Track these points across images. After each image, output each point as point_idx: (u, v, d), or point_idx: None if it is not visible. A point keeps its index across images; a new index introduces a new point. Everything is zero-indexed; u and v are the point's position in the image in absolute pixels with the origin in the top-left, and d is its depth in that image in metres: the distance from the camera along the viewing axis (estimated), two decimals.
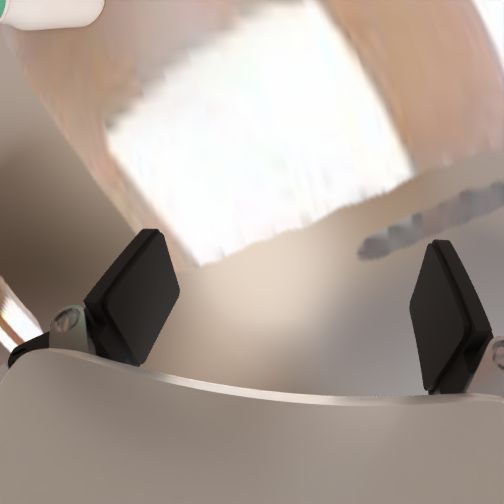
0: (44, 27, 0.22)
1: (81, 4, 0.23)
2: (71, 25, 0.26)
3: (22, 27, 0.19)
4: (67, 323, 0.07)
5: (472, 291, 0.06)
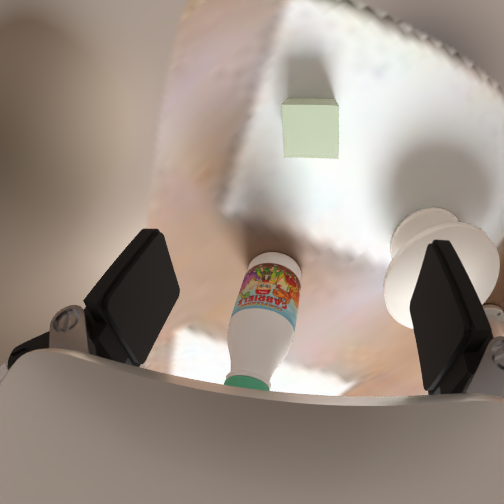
0: None
1: None
2: None
3: None
4: (67, 323, 0.07)
5: (472, 291, 0.06)
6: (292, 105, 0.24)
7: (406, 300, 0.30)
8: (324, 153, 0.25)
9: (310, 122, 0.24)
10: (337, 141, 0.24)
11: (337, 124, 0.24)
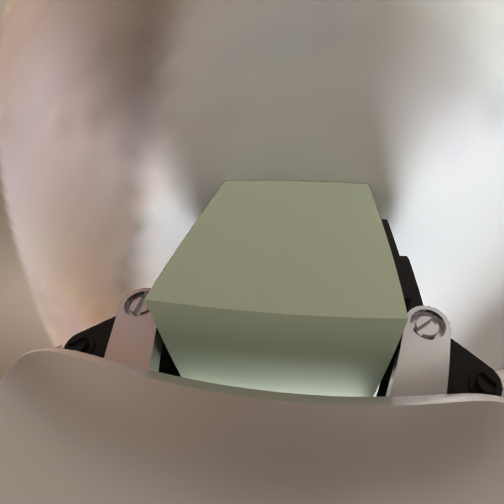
0: None
1: None
2: None
3: None
4: (140, 307, 0.07)
5: (398, 263, 0.07)
6: (189, 305, 0.06)
7: None
8: None
9: (272, 364, 0.06)
10: None
11: (380, 371, 0.06)
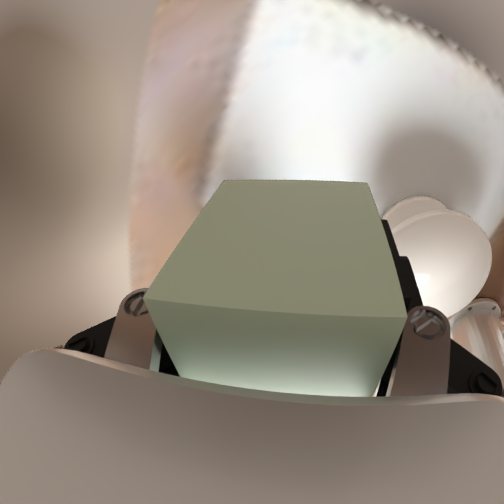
0: None
1: None
2: None
3: None
4: (140, 307, 0.07)
5: (398, 263, 0.07)
6: (187, 304, 0.06)
7: None
8: None
9: (271, 363, 0.06)
10: None
11: (379, 370, 0.06)
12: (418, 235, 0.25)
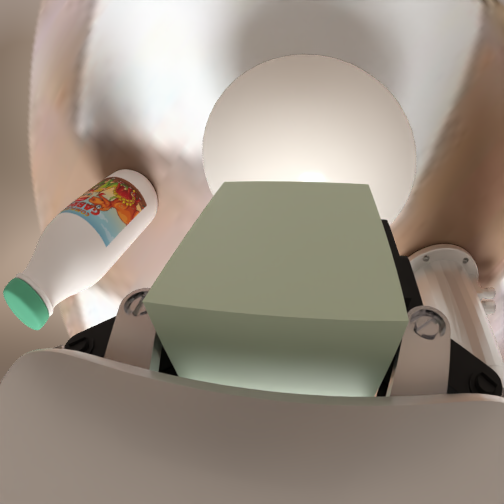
0: None
1: None
2: None
3: None
4: (140, 307, 0.07)
5: (398, 263, 0.07)
6: (187, 308, 0.05)
7: None
8: None
9: (271, 366, 0.06)
10: None
11: (380, 374, 0.06)
12: (255, 91, 0.17)
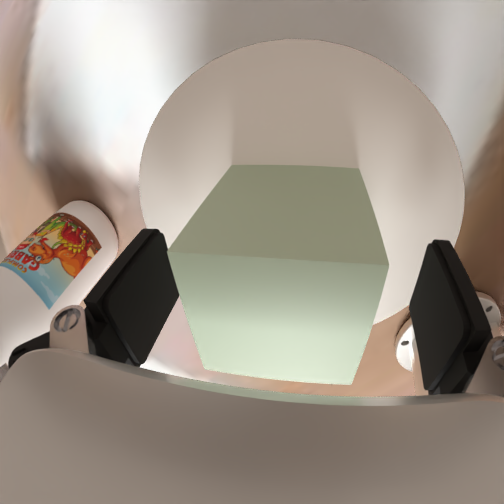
0: None
1: None
2: None
3: None
4: (67, 323, 0.07)
5: (472, 291, 0.06)
6: (205, 255, 0.07)
7: None
8: (314, 376, 0.09)
9: (275, 312, 0.07)
10: (358, 356, 0.08)
11: (369, 320, 0.07)
12: (208, 105, 0.10)
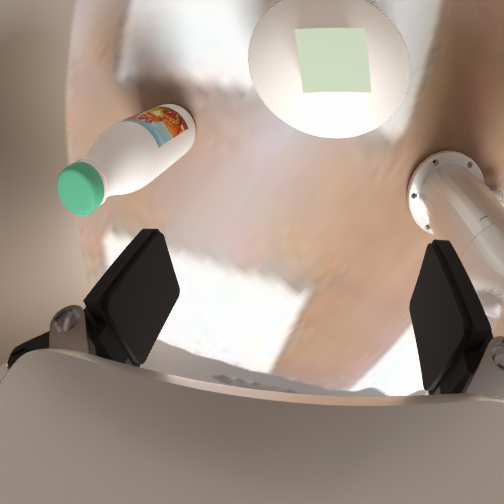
0: None
1: None
2: None
3: None
4: (67, 323, 0.07)
5: (472, 291, 0.06)
6: (308, 29, 0.16)
7: (284, 87, 0.24)
8: (353, 86, 0.18)
9: (332, 48, 0.16)
10: (368, 70, 0.17)
11: (366, 50, 0.16)
12: (286, 13, 0.20)
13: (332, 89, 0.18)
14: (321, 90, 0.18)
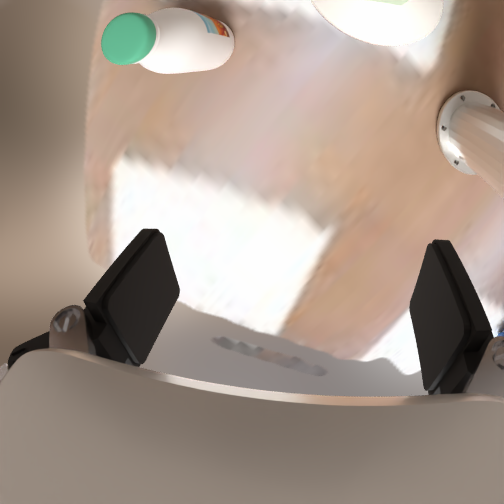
0: None
1: (203, 68, 0.30)
2: None
3: None
4: (67, 323, 0.07)
5: (472, 291, 0.06)
6: None
7: None
8: None
9: None
10: None
11: None
12: None
13: None
14: None
